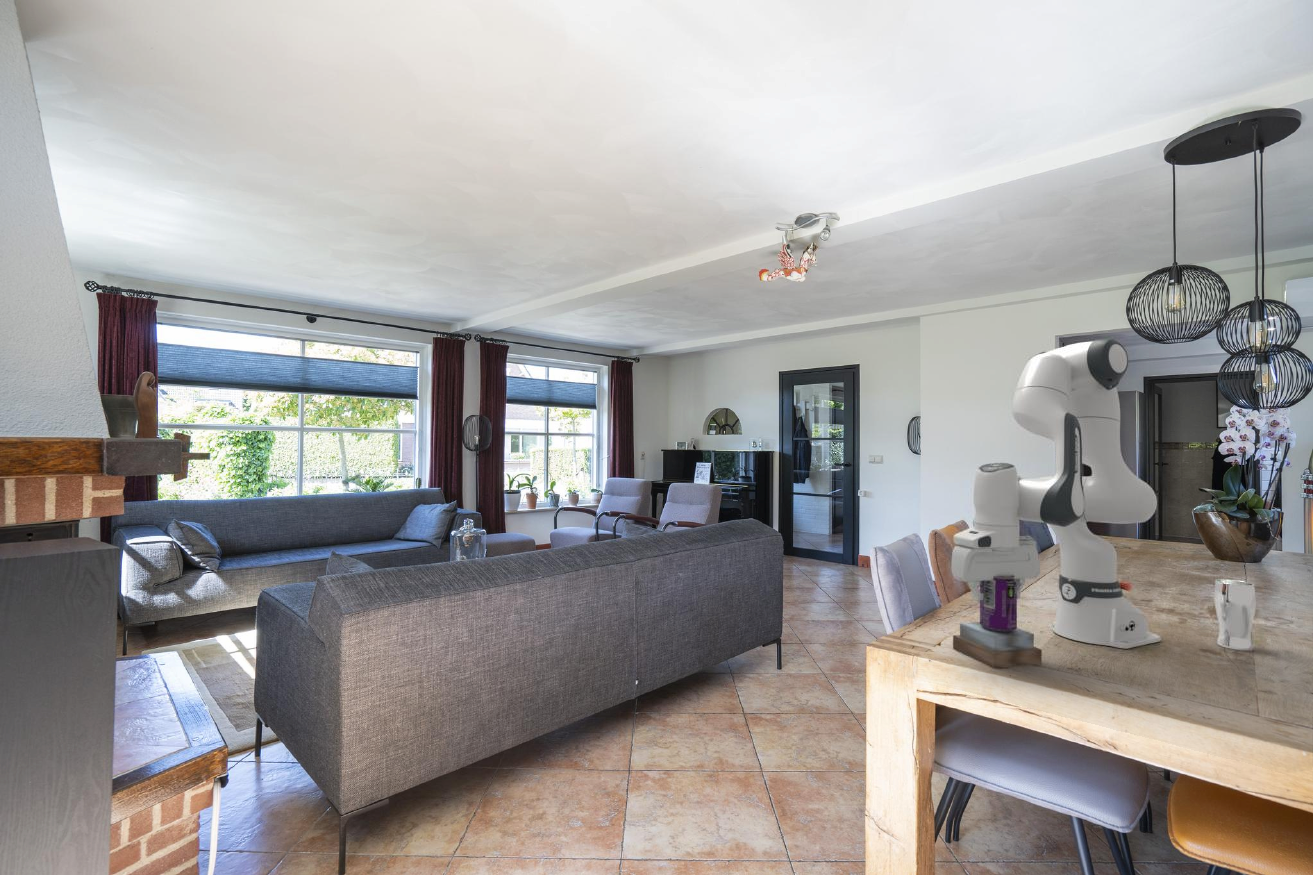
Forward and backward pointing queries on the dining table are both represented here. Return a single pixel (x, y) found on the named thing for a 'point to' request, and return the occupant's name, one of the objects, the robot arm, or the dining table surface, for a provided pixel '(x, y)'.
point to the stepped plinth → (997, 655)
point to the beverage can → (999, 604)
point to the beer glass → (1235, 613)
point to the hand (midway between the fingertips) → (996, 599)
